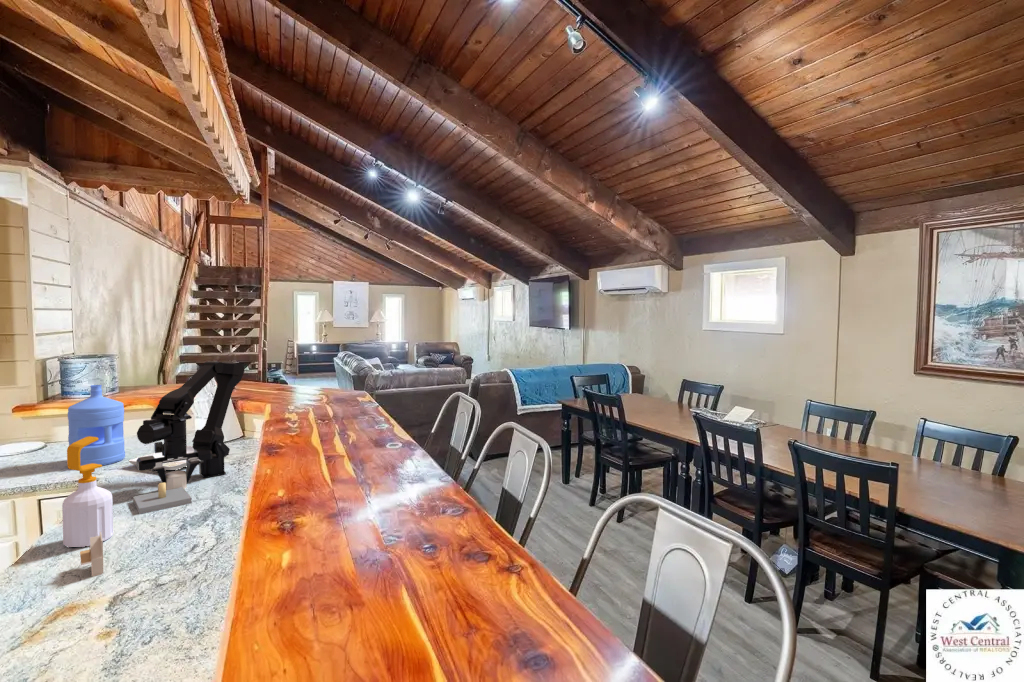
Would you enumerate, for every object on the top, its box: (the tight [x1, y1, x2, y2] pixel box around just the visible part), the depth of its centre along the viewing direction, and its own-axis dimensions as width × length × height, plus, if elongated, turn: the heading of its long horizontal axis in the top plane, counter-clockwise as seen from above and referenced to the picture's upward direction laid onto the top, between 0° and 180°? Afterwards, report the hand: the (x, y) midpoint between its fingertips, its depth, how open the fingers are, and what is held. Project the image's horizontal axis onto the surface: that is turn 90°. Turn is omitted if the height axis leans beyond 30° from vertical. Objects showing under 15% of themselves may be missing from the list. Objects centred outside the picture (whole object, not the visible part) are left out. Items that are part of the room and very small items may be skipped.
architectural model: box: [79, 532, 104, 577], centre depth 103 cm, size 3×7×7 cm, turn 43°
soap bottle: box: [61, 436, 114, 548], centre depth 116 cm, size 9×9×25 cm
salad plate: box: [128, 444, 201, 471], centre depth 179 cm, size 21×21×3 cm
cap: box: [165, 470, 188, 490], centre depth 152 cm, size 5×5×5 cm
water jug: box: [67, 384, 126, 467], centre depth 178 cm, size 16×16×28 cm
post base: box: [132, 482, 192, 515], centre depth 141 cm, size 12×12×6 cm
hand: (176, 485), depth 152 cm, fingers closed on cap, 5 cm apart
